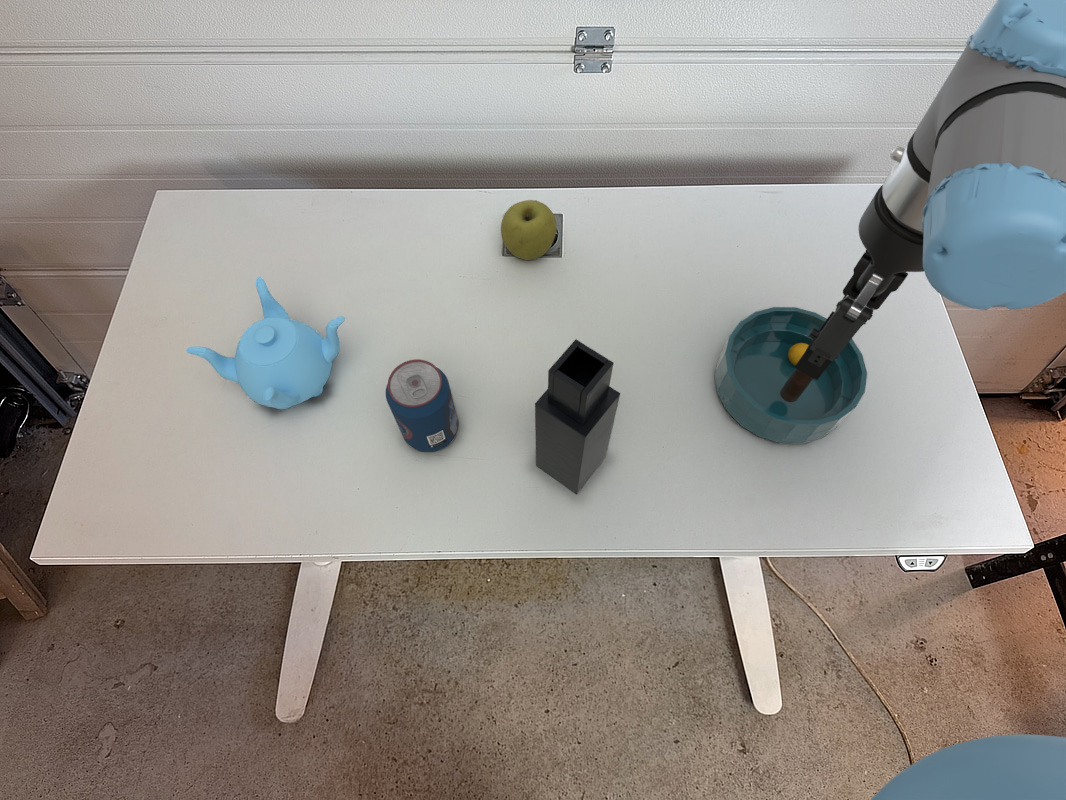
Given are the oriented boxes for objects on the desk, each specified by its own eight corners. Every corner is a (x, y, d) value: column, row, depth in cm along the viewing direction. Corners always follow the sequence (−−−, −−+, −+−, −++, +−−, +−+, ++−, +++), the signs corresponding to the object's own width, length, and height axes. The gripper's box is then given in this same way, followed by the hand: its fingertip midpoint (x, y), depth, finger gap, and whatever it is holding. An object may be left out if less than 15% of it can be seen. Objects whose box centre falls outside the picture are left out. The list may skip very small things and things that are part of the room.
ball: (802, 375, 80) (810, 362, 77) (780, 362, 81) (788, 350, 78) (812, 359, 81) (821, 346, 78) (791, 347, 82) (799, 334, 79)
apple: (491, 256, 91) (488, 220, 84) (523, 220, 94) (521, 183, 87) (536, 279, 89) (535, 244, 82) (566, 242, 92) (568, 205, 85)
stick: (793, 405, 76) (851, 330, 62) (776, 396, 76) (830, 319, 62) (801, 392, 77) (860, 315, 62) (785, 383, 77) (839, 304, 63)
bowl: (809, 471, 75) (829, 451, 69) (689, 398, 79) (700, 374, 74) (866, 376, 81) (889, 351, 75) (752, 313, 85) (766, 285, 80)
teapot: (222, 391, 81) (181, 349, 72) (291, 318, 86) (262, 270, 77) (298, 439, 77) (266, 401, 68) (366, 360, 83) (345, 315, 74)
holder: (576, 494, 74) (589, 408, 54) (535, 465, 75) (533, 372, 56) (605, 456, 76) (628, 360, 56) (565, 429, 78) (573, 327, 58)
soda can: (395, 417, 79) (373, 368, 68) (448, 397, 80) (434, 345, 69) (414, 465, 76) (393, 420, 65) (468, 443, 77) (456, 396, 66)
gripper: (918, 130, 53) (812, 301, 74) (840, 243, 47) (749, 393, 68) (1009, 168, 51) (873, 333, 72) (939, 291, 45) (813, 431, 66)
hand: (813, 362), depth 70 cm, fingers closed on stick, 2 cm apart
